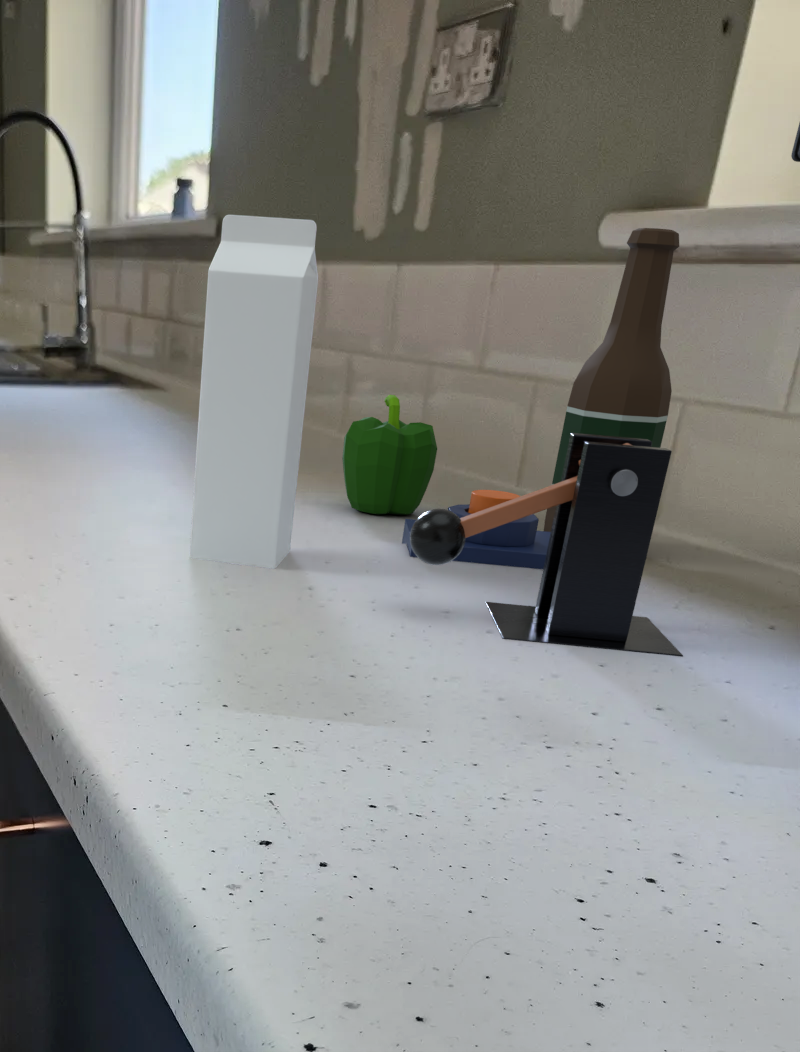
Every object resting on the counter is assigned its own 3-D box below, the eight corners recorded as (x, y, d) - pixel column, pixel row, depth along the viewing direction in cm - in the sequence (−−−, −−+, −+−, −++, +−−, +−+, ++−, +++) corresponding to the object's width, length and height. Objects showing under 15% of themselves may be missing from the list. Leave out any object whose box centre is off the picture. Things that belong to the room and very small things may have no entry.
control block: (553, 560, 89) (563, 509, 87) (575, 588, 81) (587, 532, 79) (401, 546, 90) (408, 495, 88) (407, 572, 82) (416, 516, 80)
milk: (208, 557, 82) (232, 217, 73) (289, 567, 81) (325, 223, 71) (186, 575, 76) (210, 210, 67) (274, 586, 75) (310, 216, 66)
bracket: (498, 657, 64) (539, 442, 59) (482, 620, 71) (517, 425, 66) (678, 675, 63) (735, 459, 58) (643, 635, 70) (691, 440, 65)
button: (513, 515, 85) (517, 492, 85) (520, 524, 82) (524, 500, 81) (465, 511, 86) (469, 488, 85) (470, 520, 82) (474, 496, 82)
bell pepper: (420, 525, 98) (438, 405, 94) (328, 513, 100) (342, 395, 96) (432, 510, 106) (450, 398, 101) (346, 499, 108) (360, 389, 104)
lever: (421, 578, 65) (404, 526, 64) (417, 566, 68) (401, 515, 67) (651, 497, 62) (637, 441, 61) (637, 488, 65) (624, 434, 63)
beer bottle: (655, 555, 94) (733, 234, 84) (593, 561, 90) (666, 225, 80) (582, 535, 100) (646, 233, 89) (521, 540, 96) (580, 224, 86)
